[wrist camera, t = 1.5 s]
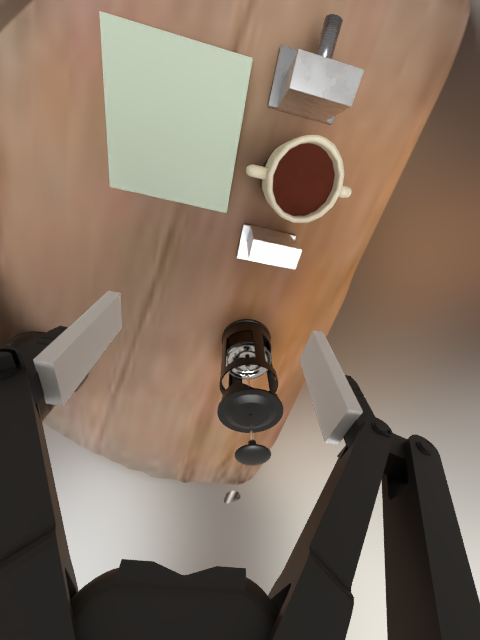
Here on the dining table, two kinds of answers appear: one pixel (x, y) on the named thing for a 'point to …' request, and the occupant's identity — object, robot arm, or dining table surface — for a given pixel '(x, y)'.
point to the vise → (309, 102)
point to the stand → (171, 113)
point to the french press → (249, 389)
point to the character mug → (302, 178)
